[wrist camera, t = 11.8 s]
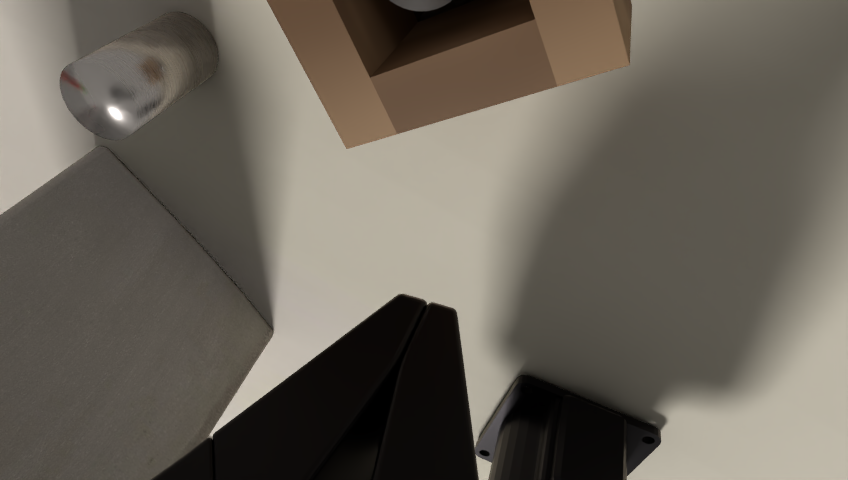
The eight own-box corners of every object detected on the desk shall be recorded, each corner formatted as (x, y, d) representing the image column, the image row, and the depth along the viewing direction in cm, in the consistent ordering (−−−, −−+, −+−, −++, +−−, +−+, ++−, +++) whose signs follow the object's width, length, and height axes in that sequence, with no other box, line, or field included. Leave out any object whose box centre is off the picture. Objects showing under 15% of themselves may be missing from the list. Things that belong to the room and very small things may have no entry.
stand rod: (217, 90, 22) (137, 151, 18) (156, 66, 22) (65, 122, 18) (219, 27, 20) (133, 80, 17) (153, 1, 20) (54, 49, 17)
